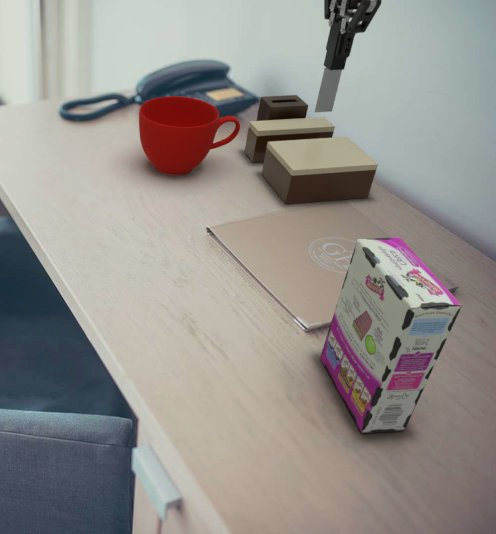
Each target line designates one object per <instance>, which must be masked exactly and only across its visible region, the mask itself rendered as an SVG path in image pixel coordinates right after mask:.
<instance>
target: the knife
mask: <svg viewBox="0 0 496 534" xmlns="http://www.w3.org/2000/svg"><path fill="white" fill-rule="evenodd" d="M341 23H342V21H333V25H332V30H331V34H330V39H329V43H328V47H327V50H326V52H325V57H324V62H323V66H324V69H323V73H322V78H321V81H320V86H319V91H318V95H317V100H316V105H315V109H314V113H329V112H333V109H334V105H335V101H336V97H337V93H338V88H339V84H340V80H341V75H342V72H343V70H345V67H346V63H347V59H348V58H337V57H335V51H336V47H337V42H338V38H339V34H340V33H341V32H340V29H341ZM349 23H350V21H349V22H348V25H349Z"/></svg>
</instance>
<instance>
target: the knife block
mask: <svg viewBox="0 0 496 534" xmlns="http://www.w3.org/2000/svg"><path fill="white" fill-rule="evenodd" d="M308 110H309V104H308V103H306V102H305V101H304V100H303V99H302V98H301V97H299V95H297V94H290V95H288V94H287V95H271V96H270V95H269V96H268V95H267V96H260V98H259V103H258V111H257V116H256V121H265V120H283V119H300V118H307V113H308Z"/></svg>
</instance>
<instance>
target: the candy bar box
mask: <svg viewBox="0 0 496 534" xmlns="http://www.w3.org/2000/svg"><path fill="white" fill-rule="evenodd" d="M462 307H463V304H462V303H461V302H460V301H459V300H458V299H457V298H456V296H454V294H453V293H452V292H451V291H450V290H449V289H448V288H447V286H445V284H444V283H442V281H441V280H440V279H439V278H438V276H436V275H435V274H434V273H433V271H432V270H431V269H430V268H429V267H428V266H427V265H426V264H425V263H424V261H423V260H422V259H421V258H420V257H419V256H418V255H417V253H415V252H414V250H413V249H412V248H411V247H410V246H409V245H408V244H407V242H406V241H405V240H404V239H403V238H402V237H400V236H398V237H397V236H396V237H395V236H393V237H378V238H357V239H356V242H355V245H354V249H353V252H352V254H351V258H350V261H349V264H348V268H347V270H346V274H345V277H344V280H343V284H342V287H341V289H340V293H339V296H338V299H337V303H336V306H335V309H334V312H333V315H332V319H331V322H330V324H329V328H328V332H327V334H326V338H325V341H324V344H323V347H322V350H321V353H320V357H319V358H320V361H321V362H322V365H323V366H324V367H325V370H326V372H327V374H328V375H329V377H330V378H331V380H332V382H333V384H334V385H335V387H336V389H337V391H338V393H339V394H340V397H341V398H342V399H343V402H344V404H345V405H346V407H347V409H348V410H349V412H350V414H351V416H352V418H353V420H354V421H355V423H356V425H357V427H358V429H359V431H360V432H361V433H362V434H368V433H369V434H371V433H381V432H383V433H386V432H399V431H405V430H406V428H407V426H408V425H409V422H410V420H411V417H412V415H413V413H414V411H415V409H416V406H417V405H418V402H419V401H420V398H421V395H422V394H423V391H424V389H425V388H426V385H427V383H428V381H429V378H430V376H431V374H432V371H433V369H434V367H435V365H436V363H437V361H438V359H439V357H440V354H441V353H442V351H443V348H444V346H445V344H446V342H447V340H448V337H449V335H450V333H451V331H452V329H453V327H454V324H455V322H456V320H457V318H458V315H459V313H460V312H461V309H462Z"/></svg>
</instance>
